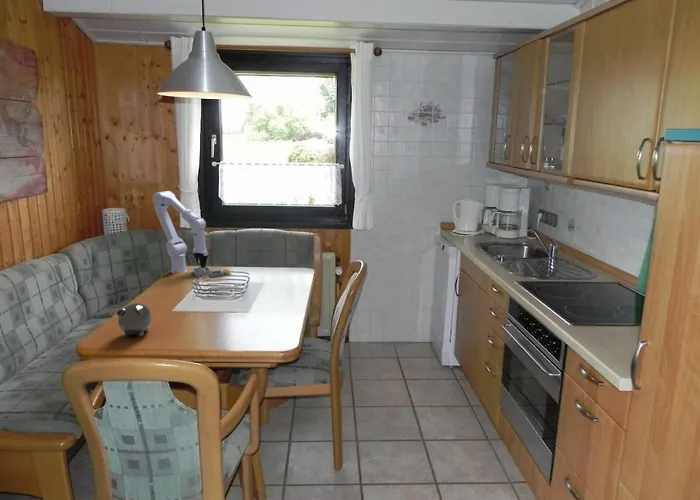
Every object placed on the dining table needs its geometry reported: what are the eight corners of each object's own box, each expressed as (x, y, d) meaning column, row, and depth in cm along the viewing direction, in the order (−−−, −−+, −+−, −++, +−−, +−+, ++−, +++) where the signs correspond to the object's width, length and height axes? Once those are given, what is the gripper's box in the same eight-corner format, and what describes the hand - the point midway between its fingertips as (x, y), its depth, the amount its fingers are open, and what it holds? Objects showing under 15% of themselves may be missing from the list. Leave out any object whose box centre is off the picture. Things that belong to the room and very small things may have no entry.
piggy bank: (112, 342, 189) (108, 311, 186) (129, 328, 203) (125, 299, 201) (143, 341, 188) (140, 310, 186) (158, 327, 203) (155, 298, 201)
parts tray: (192, 272, 287) (192, 268, 286) (208, 270, 290) (208, 266, 290) (195, 277, 277) (195, 272, 277) (212, 275, 281) (211, 270, 280)
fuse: (198, 271, 284) (197, 258, 283) (204, 270, 286) (203, 257, 284) (200, 272, 281) (198, 259, 280) (206, 271, 283) (205, 258, 281)
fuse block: (209, 275, 279) (208, 269, 279) (229, 273, 283) (228, 267, 283) (211, 279, 272) (211, 272, 271) (232, 276, 276) (232, 270, 276)
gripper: (187, 241, 283) (189, 265, 286) (197, 244, 272) (200, 270, 275) (199, 239, 288) (201, 263, 290) (210, 242, 276) (212, 268, 279)
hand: (201, 267), depth 283 cm, fingers closed on fuse, 3 cm apart
